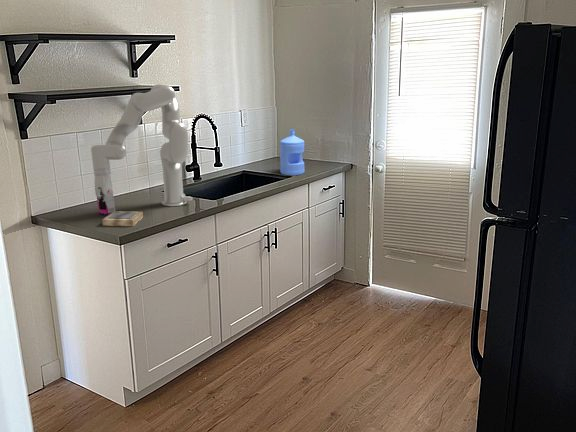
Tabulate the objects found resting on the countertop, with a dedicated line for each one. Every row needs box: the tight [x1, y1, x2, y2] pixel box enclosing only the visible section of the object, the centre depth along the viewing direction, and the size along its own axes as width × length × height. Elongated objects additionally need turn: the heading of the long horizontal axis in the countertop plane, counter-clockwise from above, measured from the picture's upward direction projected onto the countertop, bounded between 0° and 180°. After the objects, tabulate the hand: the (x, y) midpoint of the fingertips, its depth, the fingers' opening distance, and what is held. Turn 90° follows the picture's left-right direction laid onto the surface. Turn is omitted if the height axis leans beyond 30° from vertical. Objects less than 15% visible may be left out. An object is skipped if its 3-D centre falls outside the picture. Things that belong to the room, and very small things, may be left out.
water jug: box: [279, 128, 306, 176], centre depth 355 cm, size 16×16×28 cm
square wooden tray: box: [101, 210, 144, 227], centre depth 256 cm, size 14×14×3 cm
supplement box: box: [96, 188, 116, 216], centre depth 268 cm, size 6×6×12 cm
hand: (106, 206), depth 268 cm, fingers closed on supplement box, 7 cm apart
